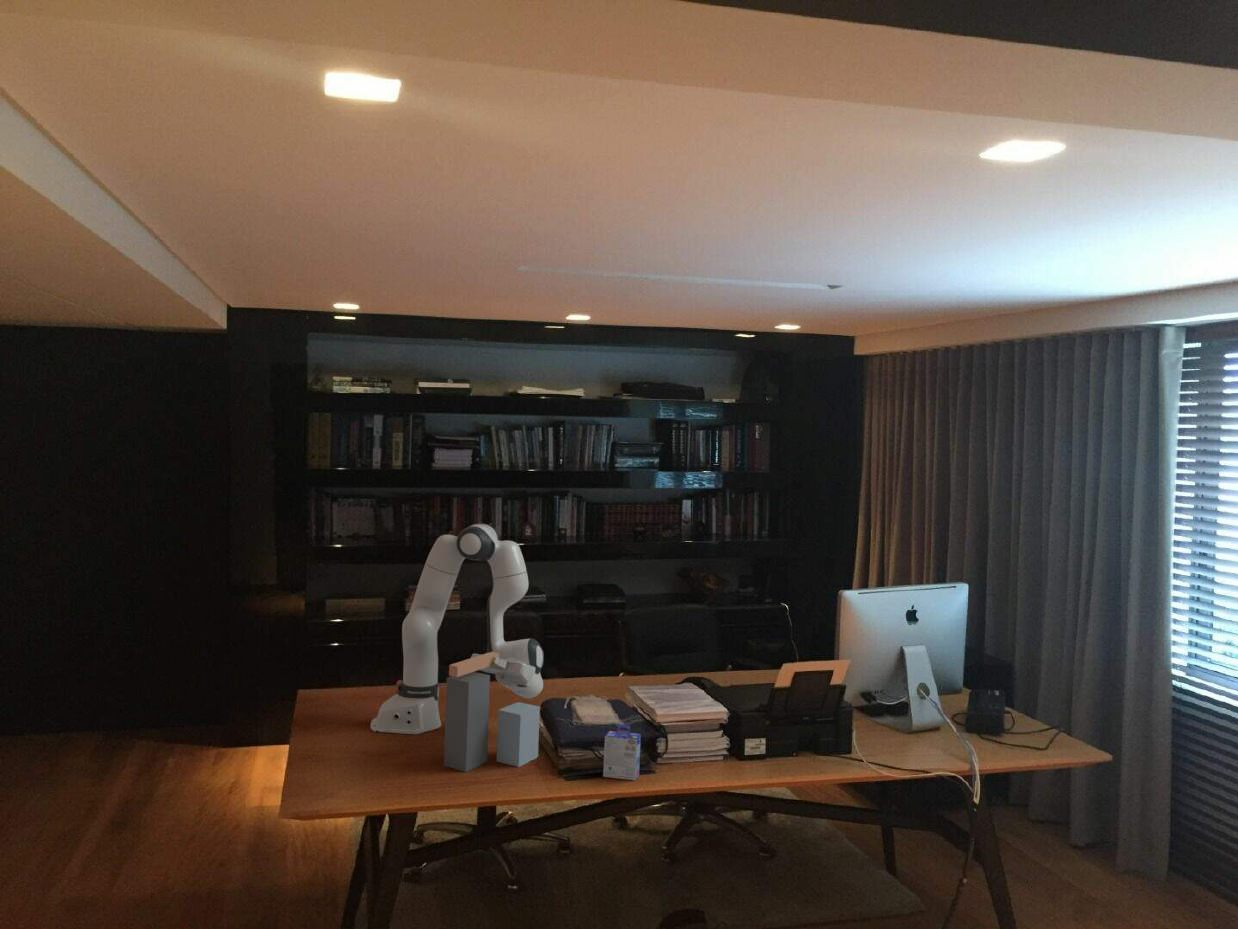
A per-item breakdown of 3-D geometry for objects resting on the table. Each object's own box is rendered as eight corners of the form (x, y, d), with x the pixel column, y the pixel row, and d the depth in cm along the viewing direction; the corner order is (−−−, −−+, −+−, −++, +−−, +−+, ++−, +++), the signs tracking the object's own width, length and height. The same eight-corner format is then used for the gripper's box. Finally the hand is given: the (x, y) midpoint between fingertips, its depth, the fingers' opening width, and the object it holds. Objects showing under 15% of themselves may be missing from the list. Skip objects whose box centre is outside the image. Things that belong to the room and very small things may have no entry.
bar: (490, 661, 301) (491, 651, 301) (499, 663, 299) (499, 653, 299) (448, 675, 283) (449, 665, 283) (457, 677, 282) (457, 666, 282)
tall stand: (465, 756, 296) (468, 670, 295) (486, 762, 293) (489, 675, 291) (443, 766, 288) (446, 677, 286) (465, 772, 284) (468, 682, 283)
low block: (516, 752, 302) (517, 702, 301) (537, 757, 298) (539, 706, 297) (496, 761, 293) (498, 709, 293) (518, 767, 289) (520, 715, 289)
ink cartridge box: (639, 774, 288) (642, 725, 287) (636, 781, 282) (638, 731, 281) (606, 770, 289) (608, 722, 289) (602, 777, 284) (604, 728, 283)
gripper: (486, 657, 314) (463, 643, 303) (540, 668, 304) (518, 653, 293) (479, 676, 311) (456, 662, 301) (533, 688, 301) (511, 674, 291)
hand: (487, 658), depth 297 cm, fingers closed on bar, 3 cm apart
